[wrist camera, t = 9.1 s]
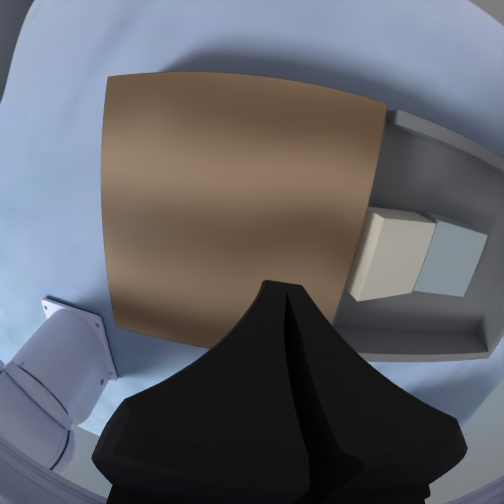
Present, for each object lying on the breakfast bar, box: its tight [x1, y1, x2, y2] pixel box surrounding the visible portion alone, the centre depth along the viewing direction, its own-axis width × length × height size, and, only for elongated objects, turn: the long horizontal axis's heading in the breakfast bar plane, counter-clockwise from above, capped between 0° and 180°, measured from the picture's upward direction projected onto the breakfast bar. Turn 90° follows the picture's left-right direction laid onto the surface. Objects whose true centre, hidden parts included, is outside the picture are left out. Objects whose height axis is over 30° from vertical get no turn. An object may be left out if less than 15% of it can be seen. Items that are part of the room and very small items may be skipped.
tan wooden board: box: [101, 72, 387, 349], centre depth 16 cm, size 16×14×4 cm
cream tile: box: [344, 206, 436, 301], centre depth 16 cm, size 5×5×2 cm
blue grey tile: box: [413, 211, 488, 297], centre depth 16 cm, size 5×5×2 cm
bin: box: [331, 110, 504, 362], centre depth 16 cm, size 16×18×4 cm
